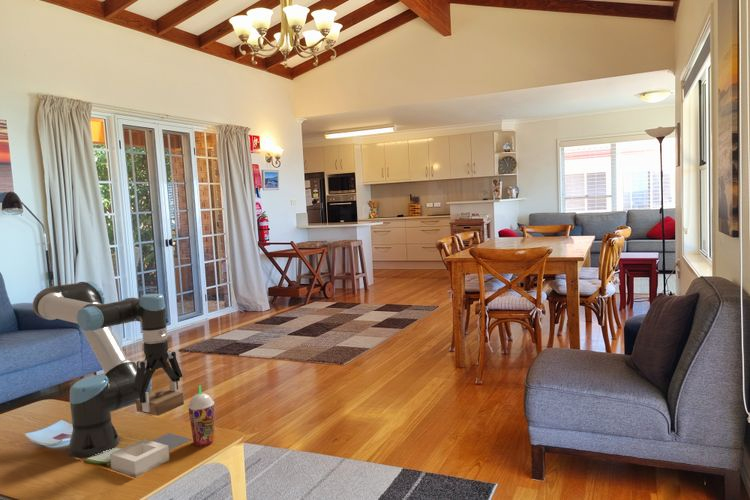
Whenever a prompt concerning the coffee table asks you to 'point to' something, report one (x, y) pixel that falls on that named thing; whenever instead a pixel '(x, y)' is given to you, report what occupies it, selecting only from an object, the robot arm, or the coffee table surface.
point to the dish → (139, 457)
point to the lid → (162, 402)
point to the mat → (171, 440)
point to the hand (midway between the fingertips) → (160, 405)
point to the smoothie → (202, 418)
